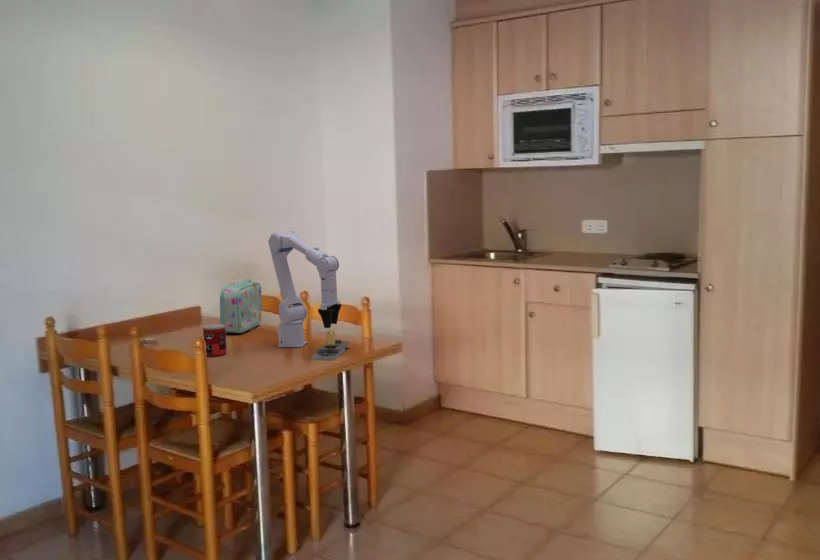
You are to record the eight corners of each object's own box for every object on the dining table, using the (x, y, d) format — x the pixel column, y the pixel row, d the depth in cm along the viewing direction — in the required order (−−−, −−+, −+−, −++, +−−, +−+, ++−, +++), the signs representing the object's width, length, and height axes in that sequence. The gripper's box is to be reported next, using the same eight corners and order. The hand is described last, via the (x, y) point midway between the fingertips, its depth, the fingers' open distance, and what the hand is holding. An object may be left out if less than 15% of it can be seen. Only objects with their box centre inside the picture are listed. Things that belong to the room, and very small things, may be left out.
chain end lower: (312, 359, 290) (311, 354, 289) (324, 350, 303) (324, 346, 303) (333, 360, 288) (333, 355, 288) (345, 351, 302) (344, 346, 301)
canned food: (203, 354, 306) (201, 325, 305) (224, 351, 309) (222, 323, 308) (206, 358, 299) (204, 328, 298) (228, 355, 302) (226, 326, 301)
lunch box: (243, 323, 366) (240, 276, 363) (265, 323, 364) (262, 276, 361) (218, 336, 340) (215, 285, 337) (241, 336, 338) (238, 285, 335)
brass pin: (326, 354, 297) (325, 333, 296) (328, 352, 300) (327, 331, 299) (334, 354, 297) (332, 333, 296) (336, 352, 300) (335, 331, 299)
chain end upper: (317, 352, 295) (317, 347, 295) (329, 344, 309) (328, 339, 309) (338, 352, 294) (338, 347, 293) (349, 344, 307) (349, 339, 307)
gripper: (333, 292, 291) (334, 329, 293) (345, 286, 305) (346, 322, 307) (314, 292, 292) (316, 329, 294) (327, 286, 306) (329, 321, 308)
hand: (330, 325), depth 301 cm, fingers open, 7 cm apart
